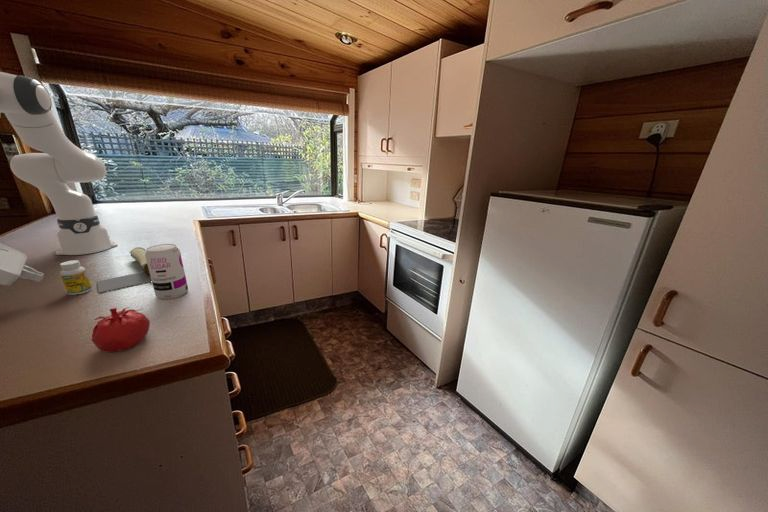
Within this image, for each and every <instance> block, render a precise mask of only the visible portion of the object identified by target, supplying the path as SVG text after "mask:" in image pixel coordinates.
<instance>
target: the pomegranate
mask: <svg viewBox="0 0 768 512" xmlns="http://www.w3.org/2000/svg"><path fill="white" fill-rule="evenodd" d="M117 309H118V308H117V307H112V308H109V311H110V313H111V315H108V316H98V317H97V318H94V319H93V320H94V321H97V320H98V321H97V322H96V325H94V327H93V329H92V335H91V342H92V343H93V344H94V346H95V347H96V348H97V349H99V351H102V352H106V353H115V352H119V351H123V352H125V351H127V350H130V349H132V348H134V347H135V346H137V345H138V344H139V343H141V342H143V340H144V339H145V338H146V336H147V335H148V333H149V330H150V326H151V325H150V324H151V322H150V319H149V318H148V317H147V316H146V315H145V314H144V313H142V312H138V311H140V309H132V308H131V309H128V307H124V308H122V310H120V311H119V310H118V311H117Z"/></svg>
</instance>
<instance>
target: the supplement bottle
mask: <svg viewBox="0 0 768 512" xmlns="http://www.w3.org/2000/svg"><path fill="white" fill-rule="evenodd" d="M59 267H60V269H62V270H61V271H59V275H60V278H61V280H62V284H63V285H64V288H65V290H66V293H67V294H68V295H69V296H77V295H76V294H79V295H83V294H85V292H86V293H88V291H89V292H90V291H91V290H93V287H92V284H91V281H90V279H89V275H88V272H87V270H86V269H87V268H85V267H84V266H81V262H80V261H79V259H78V260H77V259H76V260H68V261H64V262H61V263H59ZM82 293H83V294H82Z"/></svg>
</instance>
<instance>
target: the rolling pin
mask: <svg viewBox="0 0 768 512" xmlns="http://www.w3.org/2000/svg"><path fill="white" fill-rule="evenodd" d="M146 251H147V250H146V249H145V248H143V247H134V248H132V249H131V250H130V251H128V252H129V254H130V257H131V258H132V259H134V260H135V261H136V262H138V264H139V265H140V266H141V267H142V269H143V272H145V273H146V275H149V276H150V272H149V269H148V265H147V261H146V257H145V253H146Z"/></svg>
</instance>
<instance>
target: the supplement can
mask: <svg viewBox="0 0 768 512" xmlns="http://www.w3.org/2000/svg"><path fill="white" fill-rule="evenodd" d="M145 250H146V253H145V257H146V261H147V265H148V269H149V272H150V276H151V280H152V282H151V283H152V288H153V291H154V294H155V297H156V298H159V299H160V300H172V298H173V299H176V297H177V298H179V297H178V296H180V297H182V296H184V295H185V294H186V293H187V292H189V291H188V290H189V287H188V283H187V281H188V280H187V278H186V271H185V267H184V264H183V259H182V253H181V250H180V249H179V247H178V246H177V245H176V244H173V243H163V244H156V245H152V246H149V247H147V248H146V249H145ZM185 292H186V293H185ZM184 293H185V294H184ZM183 294H184V295H183ZM181 295H182V296H181Z"/></svg>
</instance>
